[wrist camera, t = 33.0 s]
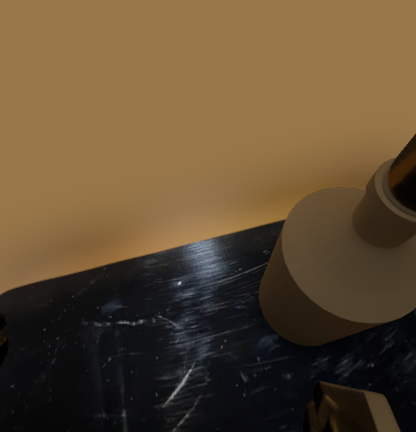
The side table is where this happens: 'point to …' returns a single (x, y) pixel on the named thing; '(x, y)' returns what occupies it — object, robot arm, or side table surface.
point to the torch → (403, 179)
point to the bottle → (340, 265)
